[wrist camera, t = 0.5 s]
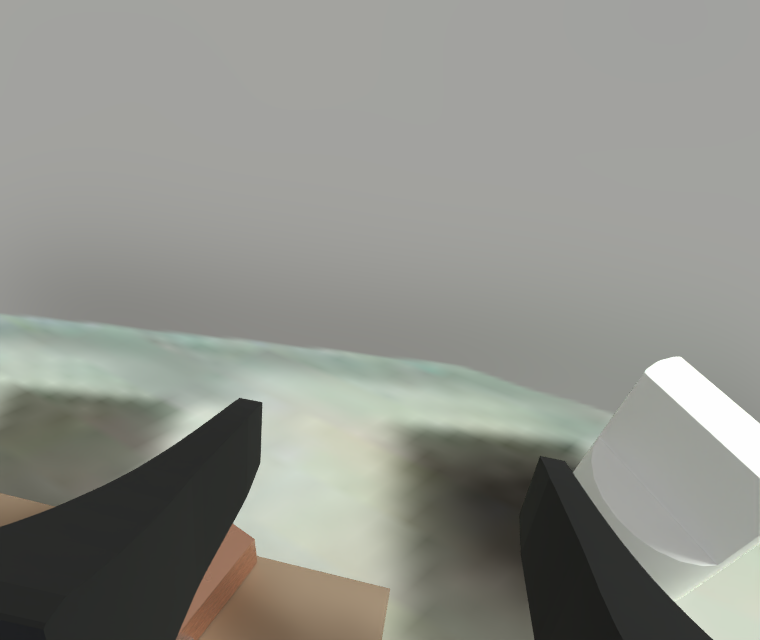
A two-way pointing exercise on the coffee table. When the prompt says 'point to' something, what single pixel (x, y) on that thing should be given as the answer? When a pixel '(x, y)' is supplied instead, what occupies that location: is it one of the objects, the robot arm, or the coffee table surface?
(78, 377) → the coffee table surface
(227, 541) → the flange plate
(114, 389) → the coffee table surface
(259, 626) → the base board
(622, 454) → the cylinder with rectangular tab
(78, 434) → the coffee table surface
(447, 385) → the coffee table surface
